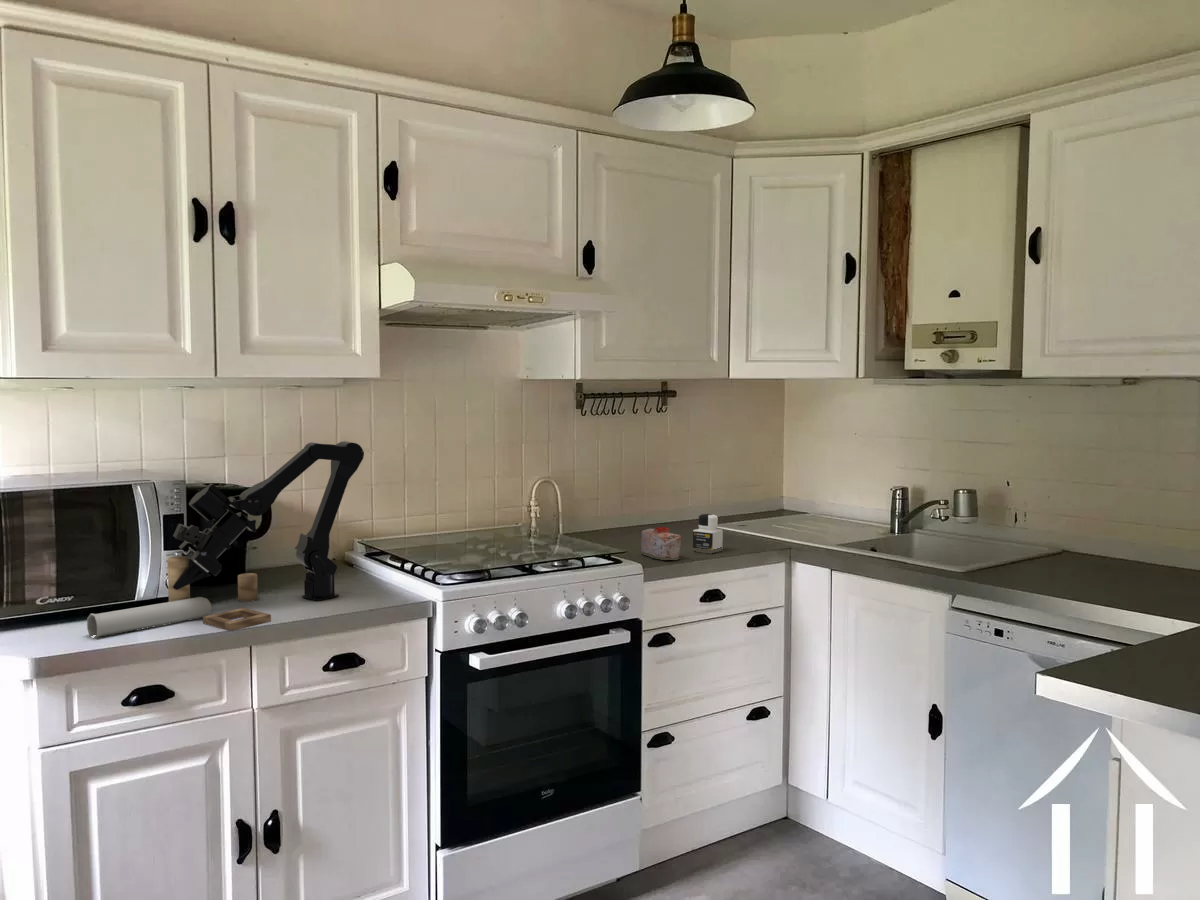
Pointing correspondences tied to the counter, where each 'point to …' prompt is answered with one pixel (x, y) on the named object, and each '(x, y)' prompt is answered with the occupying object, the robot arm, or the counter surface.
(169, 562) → the oak dowel
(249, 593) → the walnut stub
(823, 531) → the counter surface
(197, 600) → the tube
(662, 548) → the food item
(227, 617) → the hole plate
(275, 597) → the counter surface
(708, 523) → the medicine bottle
